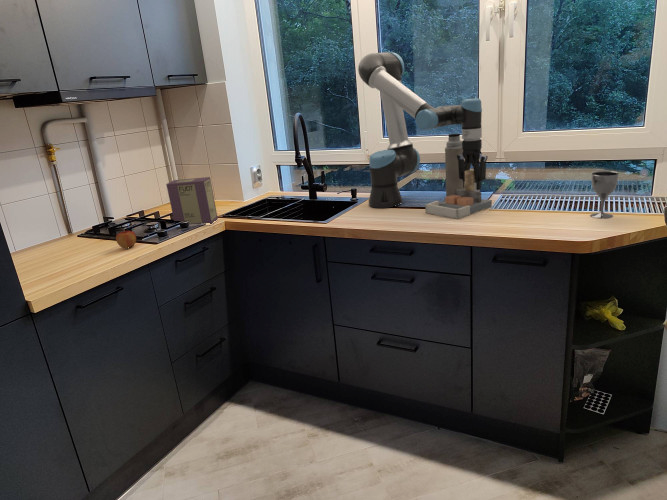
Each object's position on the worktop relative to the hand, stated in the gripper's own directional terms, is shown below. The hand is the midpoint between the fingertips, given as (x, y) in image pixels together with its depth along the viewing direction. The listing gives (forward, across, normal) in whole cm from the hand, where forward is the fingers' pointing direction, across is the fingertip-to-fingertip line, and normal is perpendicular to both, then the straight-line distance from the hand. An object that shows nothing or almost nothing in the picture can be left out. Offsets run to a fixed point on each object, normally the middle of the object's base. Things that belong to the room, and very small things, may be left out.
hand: (472, 196), depth 195 cm
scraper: (+1, 0, 0) cm, 1 cm away
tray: (+4, 0, -16) cm, 16 cm away
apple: (+4, -73, -120) cm, 141 cm away
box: (+4, -84, -88) cm, 121 cm away
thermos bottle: (+4, -15, +8) cm, 17 cm away
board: (+4, 0, -5) cm, 6 cm away
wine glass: (+4, +47, +10) cm, 48 cm away
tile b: (+1, +3, -8) cm, 9 cm away
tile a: (+1, -3, -8) cm, 9 cm away
